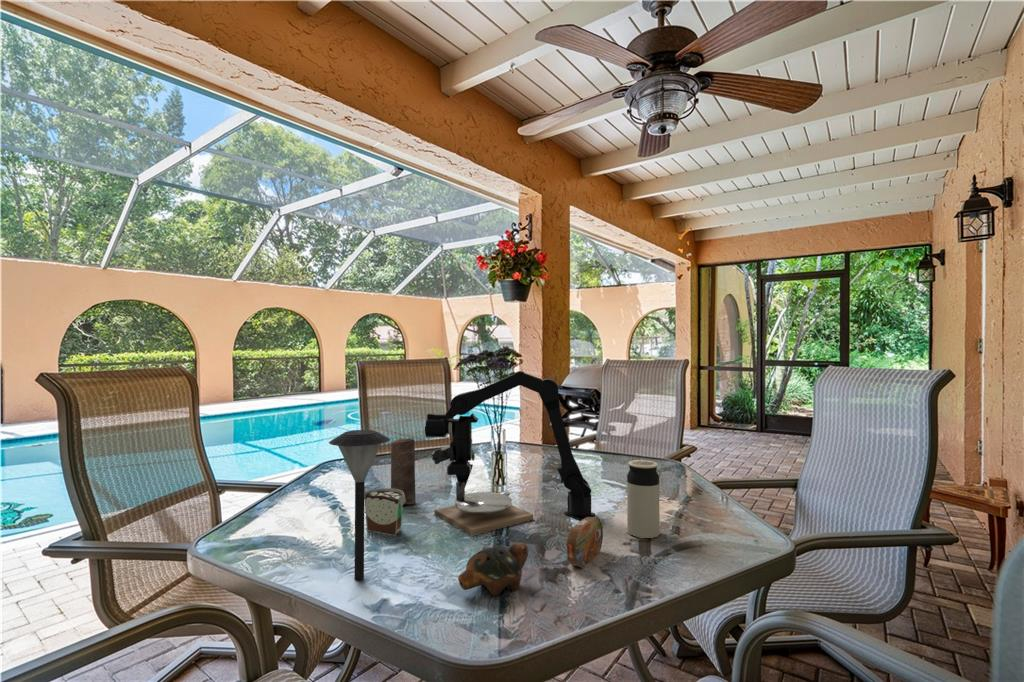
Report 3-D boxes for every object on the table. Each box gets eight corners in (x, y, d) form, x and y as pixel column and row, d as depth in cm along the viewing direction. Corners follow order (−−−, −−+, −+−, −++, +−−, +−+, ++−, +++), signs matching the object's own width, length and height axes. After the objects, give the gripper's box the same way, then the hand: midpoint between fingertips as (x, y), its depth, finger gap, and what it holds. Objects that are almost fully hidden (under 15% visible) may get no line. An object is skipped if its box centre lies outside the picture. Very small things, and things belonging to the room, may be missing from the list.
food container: (415, 529, 128) (415, 491, 128) (400, 537, 123) (400, 497, 123) (378, 522, 133) (378, 485, 134) (362, 529, 128) (362, 491, 128)
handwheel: (513, 502, 145) (513, 475, 145) (509, 521, 129) (509, 490, 129) (460, 501, 146) (460, 474, 146) (449, 519, 130) (449, 489, 130)
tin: (577, 574, 102) (577, 533, 103) (564, 570, 104) (564, 530, 104) (604, 549, 115) (604, 513, 115) (591, 546, 117) (591, 511, 117)
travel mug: (664, 539, 121) (663, 466, 122) (633, 540, 121) (632, 466, 121) (653, 527, 129) (652, 459, 130) (623, 528, 129) (623, 459, 129)
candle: (401, 509, 144) (401, 441, 145) (385, 504, 149) (385, 439, 149) (420, 503, 150) (420, 438, 151) (404, 498, 155) (404, 435, 155)
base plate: (533, 519, 135) (533, 513, 135) (472, 536, 123) (472, 529, 123) (492, 502, 151) (492, 496, 151) (434, 515, 139) (434, 509, 139)
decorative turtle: (541, 586, 97) (540, 547, 96) (475, 615, 88) (474, 572, 88) (512, 566, 105) (511, 530, 104) (450, 591, 96) (448, 551, 95)
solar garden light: (355, 562, 108) (356, 426, 109) (401, 571, 103) (402, 429, 104) (313, 586, 97) (314, 434, 97) (363, 598, 92) (364, 439, 93)
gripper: (438, 431, 150) (438, 481, 150) (428, 444, 132) (428, 502, 132) (474, 431, 150) (474, 481, 151) (469, 444, 132) (469, 502, 132)
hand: (461, 491), depth 141 cm, fingers closed
